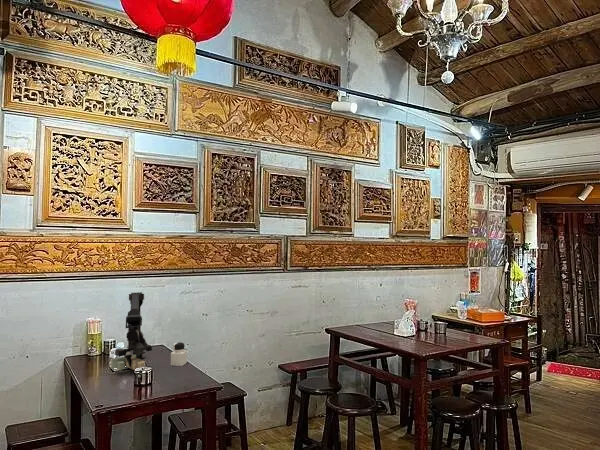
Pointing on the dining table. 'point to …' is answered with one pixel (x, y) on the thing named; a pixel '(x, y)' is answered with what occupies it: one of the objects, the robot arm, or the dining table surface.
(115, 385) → the dining table surface
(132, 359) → the rail
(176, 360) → the medicine bottle
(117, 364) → the grey block
